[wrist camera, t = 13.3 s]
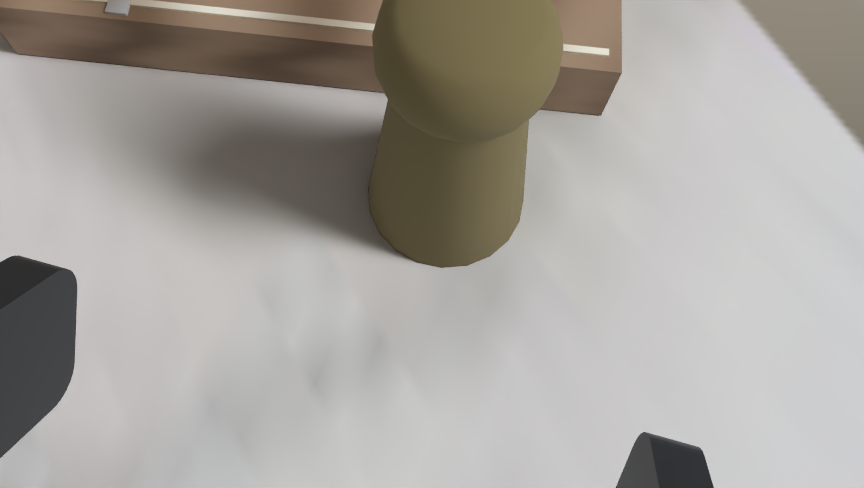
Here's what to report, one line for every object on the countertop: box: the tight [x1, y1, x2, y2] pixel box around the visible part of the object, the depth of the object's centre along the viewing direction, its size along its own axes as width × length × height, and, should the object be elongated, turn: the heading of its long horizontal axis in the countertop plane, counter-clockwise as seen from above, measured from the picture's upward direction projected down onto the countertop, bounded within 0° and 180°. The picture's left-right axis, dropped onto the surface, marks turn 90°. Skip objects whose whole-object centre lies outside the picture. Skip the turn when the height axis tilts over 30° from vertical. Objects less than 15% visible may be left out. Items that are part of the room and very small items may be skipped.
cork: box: [368, 0, 563, 267], centre depth 24 cm, size 6×6×11 cm
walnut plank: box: [0, 0, 622, 115], centre depth 30 cm, size 24×6×3 cm, turn 85°
